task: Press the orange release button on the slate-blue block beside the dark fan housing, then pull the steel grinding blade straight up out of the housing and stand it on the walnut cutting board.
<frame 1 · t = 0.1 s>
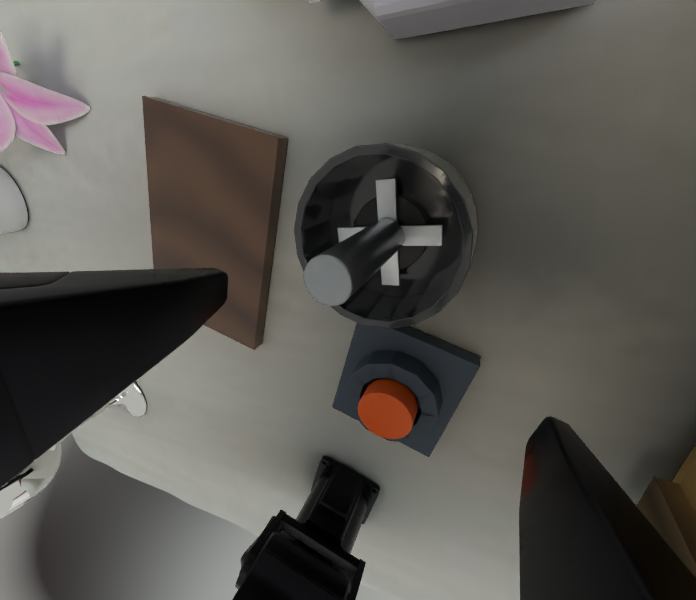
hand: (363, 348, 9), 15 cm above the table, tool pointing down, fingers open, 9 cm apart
lily: (52, 102, 30), on the table
wineglass: (128, 391, 46), on the table
blade: (393, 231, 22), point 1 cm above the table, touching dark fan housing
cutting board: (214, 233, 28), on the table
button block: (399, 380, 27), on the table
dark fan housing: (395, 229, 22), on the table
milk bottle: (9, 197, 39), on the table
button: (387, 408, 24), point 3 cm above the table, slide at 0.1 cm
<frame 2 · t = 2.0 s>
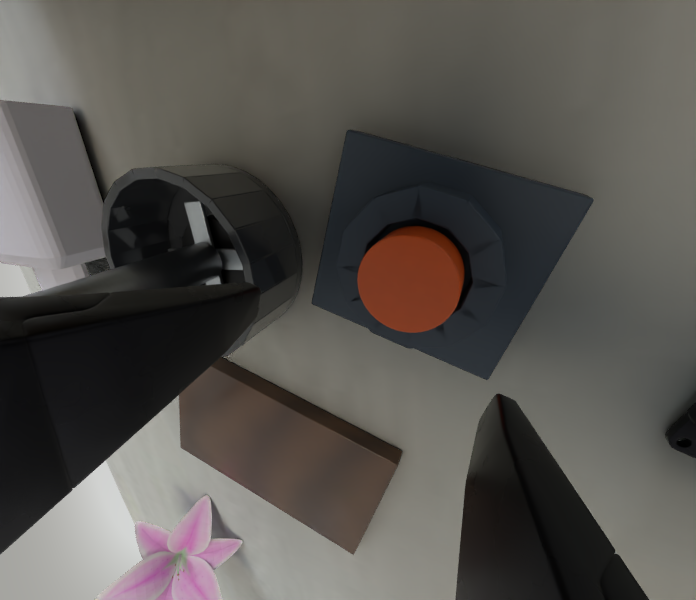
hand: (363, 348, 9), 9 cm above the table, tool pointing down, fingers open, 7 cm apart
lily: (212, 522, 38), on the table
blade: (225, 253, 20), point 1 cm above the table, touching dark fan housing
cutting board: (276, 443, 27), on the table
button block: (426, 256, 16), on the table
charger: (81, 222, 26), on the table
dark fan housing: (231, 251, 21), on the table
button: (410, 279, 13), point 3 cm above the table, slide at 0.1 cm
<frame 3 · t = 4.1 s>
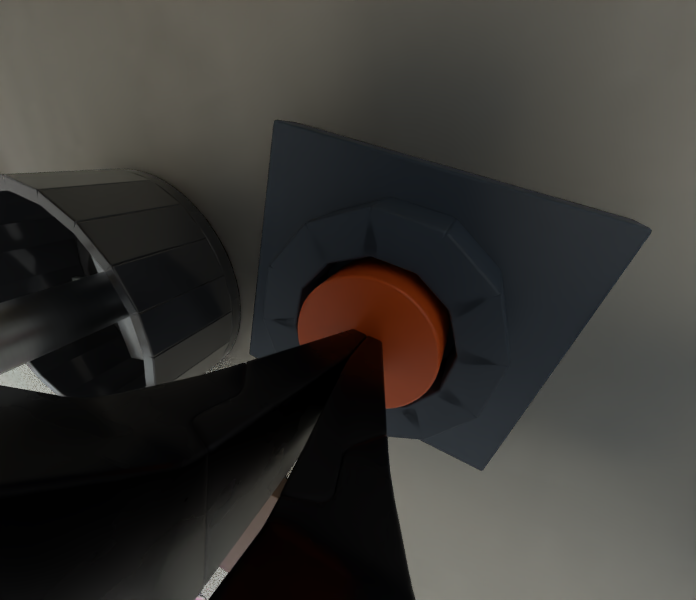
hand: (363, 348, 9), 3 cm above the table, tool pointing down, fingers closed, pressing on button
blade: (145, 283, 16), point 1 cm above the table, touching dark fan housing
cutting board: (230, 503, 22), on the table
button block: (397, 298, 12), on the table
dark fan housing: (156, 279, 16), on the table
button: (373, 332, 9), point 3 cm above the table, slide at -0.8 cm, touching gripper
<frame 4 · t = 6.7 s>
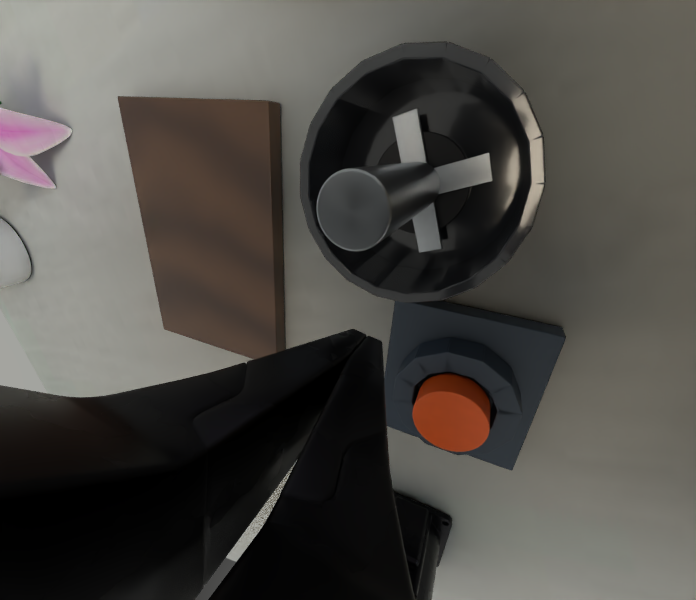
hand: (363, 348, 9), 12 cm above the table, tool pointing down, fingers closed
lily: (36, 135, 29), on the table
blade: (423, 183, 17), point 1 cm above the table, touching dark fan housing
cutting board: (215, 238, 25), on the table
button block: (457, 376, 21), on the table
dark fan housing: (425, 183, 18), on the table
milk bottle: (12, 248, 37), on the table
button: (451, 412, 18), point 3 cm above the table, slide at 0.1 cm
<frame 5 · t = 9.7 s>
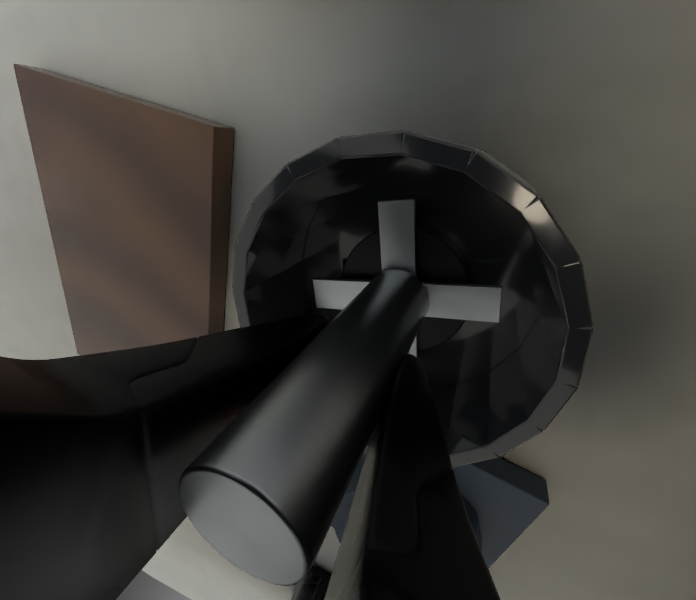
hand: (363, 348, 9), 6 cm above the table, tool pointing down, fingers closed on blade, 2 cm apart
blade: (407, 284, 13), point 1 cm above the table, touching dark fan housing, gripper
cutting board: (143, 269, 20), on the table
button block: (413, 491, 18), on the table
dark fan housing: (411, 279, 13), on the table
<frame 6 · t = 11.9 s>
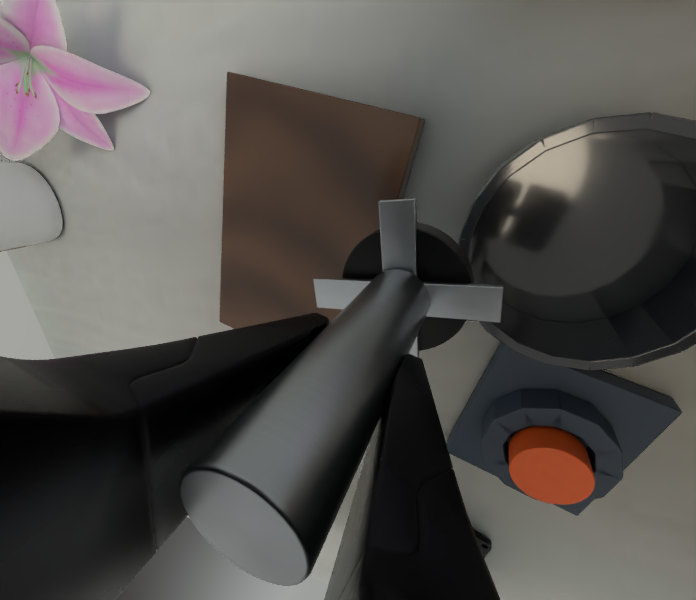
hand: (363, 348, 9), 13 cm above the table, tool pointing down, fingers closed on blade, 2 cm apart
lily: (100, 88, 25), on the table
blade: (408, 284, 13), point 8 cm above the table, touching gripper
cutting board: (302, 242, 23), on the table
button block: (541, 422, 22), on the table
dark fan housing: (571, 235, 17), on the table
milk bottle: (41, 202, 34), on the table
button: (548, 464, 19), point 3 cm above the table, slide at 0.1 cm
when the fingers open (6 cm above the table, at t = 14.5 s): blade stays where it is, resting on cutting board.
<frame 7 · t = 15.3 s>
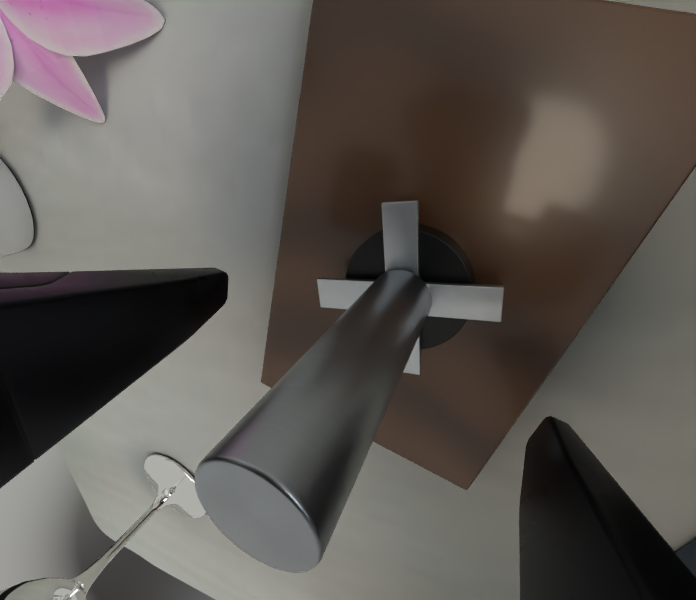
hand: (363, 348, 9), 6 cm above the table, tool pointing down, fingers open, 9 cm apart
lily: (83, 20, 16), on the table
wineglass: (178, 483, 31), on the table
blade: (410, 284, 13), point 1 cm above the table, touching cutting board
cutting board: (415, 274, 14), on the table
milk bottle: (4, 199, 24), on the table
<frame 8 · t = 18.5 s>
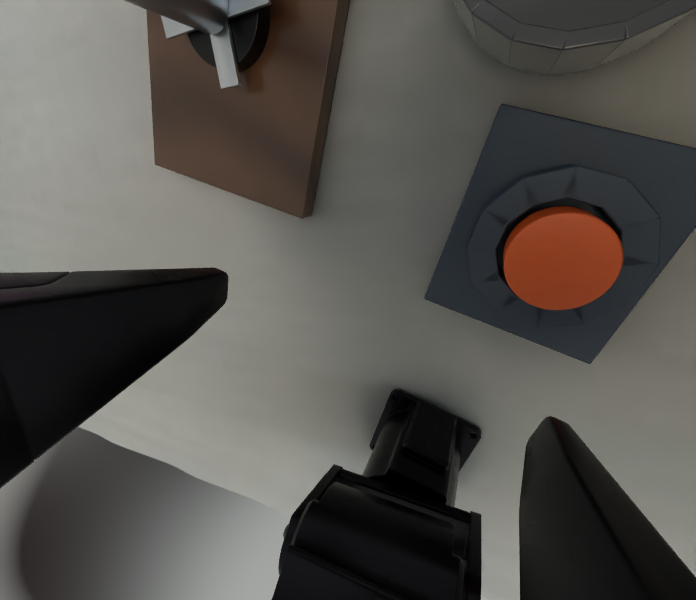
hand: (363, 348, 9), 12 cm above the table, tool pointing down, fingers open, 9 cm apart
blade: (231, 17, 17), point 1 cm above the table, touching cutting board
cutting board: (245, 24, 18), on the table
button block: (546, 239, 17), on the table
button: (556, 258, 14), point 3 cm above the table, slide at 0.1 cm
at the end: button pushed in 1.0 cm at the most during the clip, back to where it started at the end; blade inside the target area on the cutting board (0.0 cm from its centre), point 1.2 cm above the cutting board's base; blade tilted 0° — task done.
